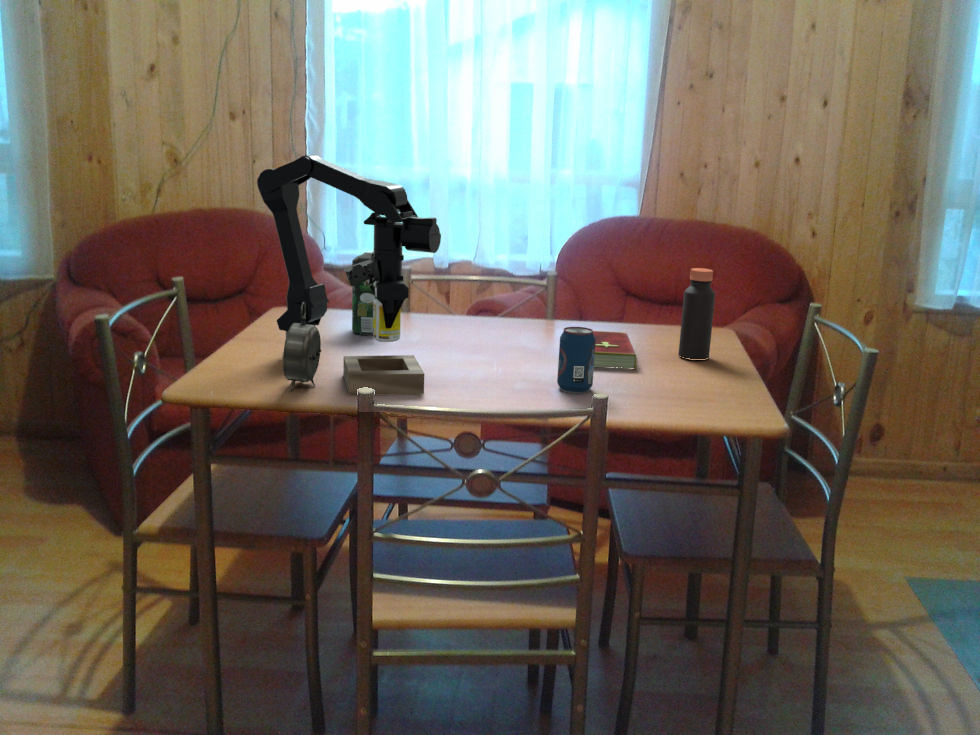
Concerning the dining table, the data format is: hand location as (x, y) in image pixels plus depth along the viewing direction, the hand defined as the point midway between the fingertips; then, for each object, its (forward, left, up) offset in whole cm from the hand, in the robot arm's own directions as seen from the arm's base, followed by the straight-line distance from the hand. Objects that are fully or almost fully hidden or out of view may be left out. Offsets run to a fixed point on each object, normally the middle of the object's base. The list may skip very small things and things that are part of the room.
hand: (386, 325), depth 205 cm
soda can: (+18, +35, -9) cm, 40 cm away
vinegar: (-5, +70, -9) cm, 71 cm away
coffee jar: (-34, 0, -9) cm, 35 cm away
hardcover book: (-7, +50, -10) cm, 51 cm away
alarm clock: (+12, -17, -9) cm, 23 cm away
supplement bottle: (0, 0, -3) cm, 3 cm away
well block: (+12, -2, -9) cm, 15 cm away
